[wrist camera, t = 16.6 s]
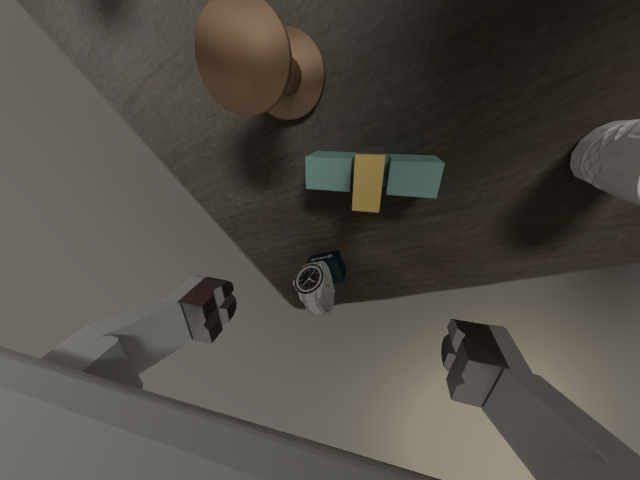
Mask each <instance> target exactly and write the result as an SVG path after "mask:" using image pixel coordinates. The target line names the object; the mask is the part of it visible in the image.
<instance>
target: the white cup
mask: <svg viewBox="0 0 640 480" xmlns="http://www.w3.org/2000/svg"><path fill="white" fill-rule="evenodd" d="M570 168H571V170H572V172H573V174H574V176H575V177H577V178H579V179H581V180H583V181H585V182H587V183H589V184H592V185H593V186H594V187H596V188H598V189H601V190H603V191H605V192H607V193H609V194H612V195H614V196H616V197H618V198H621V199H623V200H626V201H628V202H631V203H633V204H636V205H638V206H640V119H639V120H625V121H613V122H610V123H608V124H605V125H603V126H600V127H597V128H595V129H594V130H593V131H591V132H590V133H589V134H587V135H586V136H585V137H584V138H582V139H581V140H580V141H579V143H578V144H577V146H576V147H575V149H574V150H573V152H572V154H571V160H570Z"/></svg>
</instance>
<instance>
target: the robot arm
mask: <svg viewBox="0 0 640 480" xmlns="http://www.w3.org/2000/svg"><path fill="white" fill-rule="evenodd" d="M233 290H234V288H233V284H232V282H230V281H226V280H221V279H216V278H210V277H204V276H200V275H197V276H193V277H192V278H191V279H190V280H188V281H187V282H186V283H185V284H183V285H182V286H181V287H180V288H178V289H177V290H176V291H175V292H174V293H172V294H171V295H170V296H169V297H167V298H166V299H165V300H162V299H160V300H158V301H155V302H153V303H150V304H147V305H144V306H142V307H139V308H136V309H134V310H131V311H128V312H125V313H123V314H120V315H117V316H115V317H112V318H109V319H107V320H104V321H101V322H98V323H96V324H93V325H90V326H88V327H85V328H84V329H82V330H81V331H79V332H78V333H76V334H75V335H74V336H72V337H71V338H69V339H68V340H66V341H65V342H63V343H62V344H60V345H59V346H58V347H56V348H55V349H53V350H52V351H50V352H49V353H47V354H46V355H45V356H43V357H42V358H37V357H33V356H30V355H26V354H23V353H20V352H17V351H14V350H10V349H7V348H3V347H0V480H441V479H437V478H434V477H431V476H427V475H424V474H421V473H417V472H414V471H411V470H408V469H404V468H401V467H398V466H394V465H391V464H388V463H385V462H381V461H378V460H375V459H371V458H368V457H364V456H361V455H358V454H355V453H351V452H348V451H345V450H342V449H338V448H335V447H332V446H328V445H325V444H321V443H318V442H315V441H312V440H309V439H305V438H302V437H298V436H295V435H292V434H289V433H285V432H282V431H279V430H275V429H272V428H269V427H266V426H262V425H259V424H256V423H252V422H249V421H246V420H242V419H239V418H236V417H232V416H229V415H226V414H222V413H219V412H216V411H212V410H209V409H206V408H202V407H199V406H196V405H192V404H189V403H186V402H182V401H179V400H176V399H172V398H169V397H166V396H163V395H159V394H156V393H153V392H149V391H146V390H143V389H142V388H143V383H142V381H141V379H140V377H139V374H140V373H142V372H143V371H145V370H147V369H148V368H150V367H151V366H153V365H155V364H156V363H158V362H159V361H161V360H162V359H164V358H166V357H167V356H169V355H170V354H172V353H174V352H175V351H176V350H178V349H180V348H182V347H183V346H185V345H186V344H188V343H189V342H191V341H192V340H197V341H203V342H207V343H213V342H214V340H215V339H216V338H217V337H218V335H219V334H220V333H221V331H222V330H223V324H225V323H227V322H229V321H230V320H231V318H232V317H233V315H234V313H235V310H236V298H235V297H234V296H233V295H232V292H233ZM447 328H448V331H449V334H448V335H447V336H445V337H444V339H443V342H442V350H441V354H442V362H443V366H444V367H445V368H446V370H447V371H448V372H449V374H448V376H447V378H446V380H447V383H448V388H449V392H450V396H451V400H454V401H459V402H462V403H466V404H469V405H473V406H477V407H481V408H482V410H483V411H484V412H485V414H486V415H487V416H488V418H489V419H490V420H491V422H492V423H493V424H494V425H495V427H496V428H497V429H498V431H499V432H500V433H501V435H502V436H503V437H504V439H505V440H506V441H507V442H508V444H509V445H510V446H511V448H512V449H513V450H514V452H515V453H516V454H517V455H518V457H519V458H520V459H521V461H522V462H523V463H524V465H525V466H526V467H527V469H528V470H529V471H530V473H531V474H532V475H533V476H534V478H535V479H536V480H640V456H639V455H638V454H637V453H635V452H634V451H633V450H631V449H630V448H629V447H628V446H627V445H625V444H624V443H623V442H622V441H620V440H619V439H618V438H617V437H615V436H614V435H613V434H612V433H610V432H609V431H608V430H607V429H605V428H604V427H603V426H602V425H600V424H599V423H598V422H597V421H595V420H594V419H593V418H592V417H591V416H589V415H588V414H587V413H585V412H584V411H583V410H582V409H581V408H579V407H578V406H577V405H575V404H574V403H573V402H572V401H571V400H569V399H568V398H567V397H566V396H564V395H563V394H562V393H561V392H559V391H558V390H557V389H555V388H554V387H553V386H552V385H551V384H549V383H548V382H547V381H546V380H544V379H543V378H542V377H541V376H539V375H535V374H533V373H532V371H531V370H530V368H529V366H528V365H527V363H526V361H525V359H524V358H523V356H522V354H521V352H520V351H519V349H518V348H517V346H516V344H515V342H514V341H513V339H512V338H511V335H510V334H509V332H508V330H507V329H506V328H504V327H501V326H494V325H487V324H486V325H485V324H479V323H474V322H467V321H461V320H455V319H451V321H450V322H449V324H448V327H447Z"/></svg>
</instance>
